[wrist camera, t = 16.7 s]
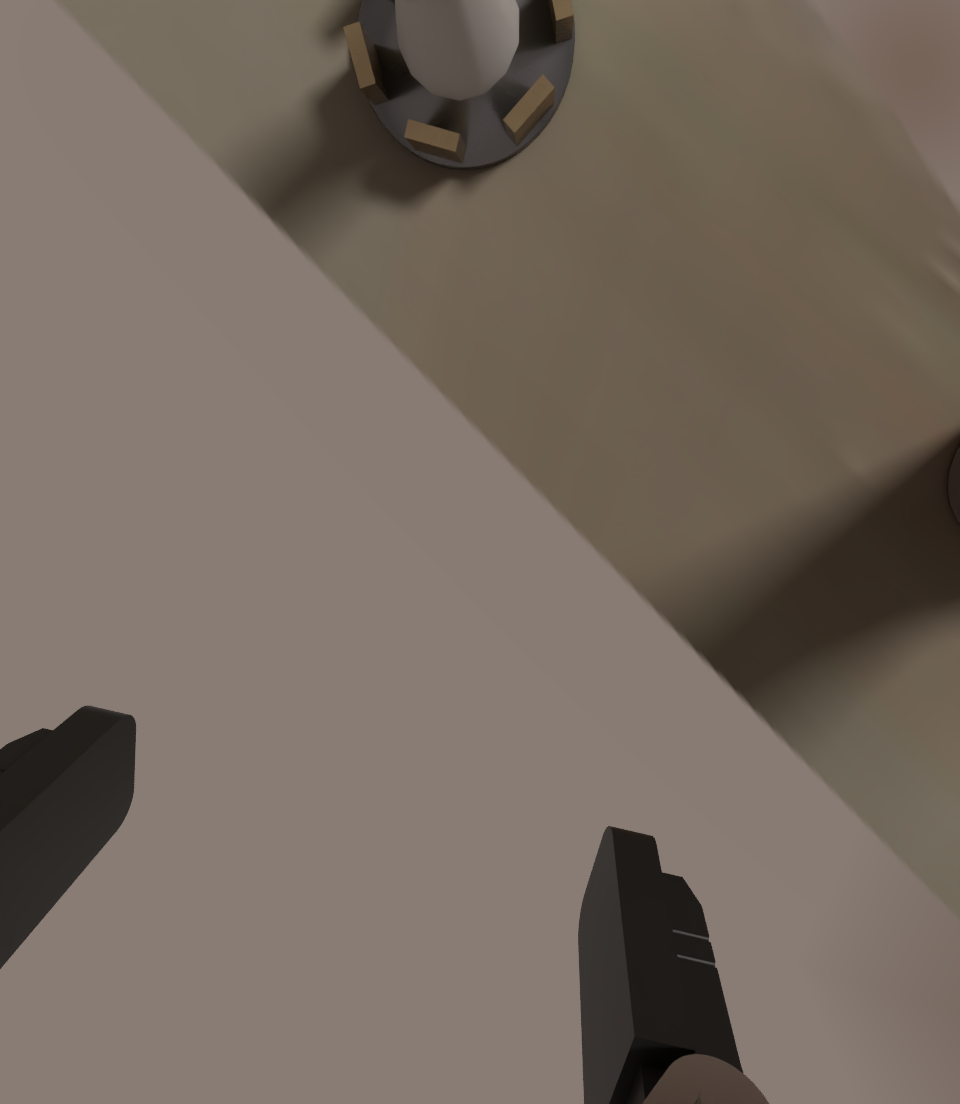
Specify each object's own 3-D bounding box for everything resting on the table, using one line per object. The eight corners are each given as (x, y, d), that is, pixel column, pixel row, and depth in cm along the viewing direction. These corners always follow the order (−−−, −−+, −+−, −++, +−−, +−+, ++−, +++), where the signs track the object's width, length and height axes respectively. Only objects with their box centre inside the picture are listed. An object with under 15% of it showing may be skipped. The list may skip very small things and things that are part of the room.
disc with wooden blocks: (619, 44, 36) (627, 15, 32) (466, 216, 39) (457, 206, 35) (465, -143, 34) (455, -196, 30) (317, 53, 37) (292, 26, 34)
